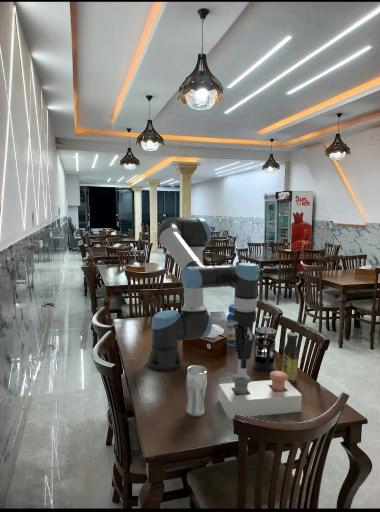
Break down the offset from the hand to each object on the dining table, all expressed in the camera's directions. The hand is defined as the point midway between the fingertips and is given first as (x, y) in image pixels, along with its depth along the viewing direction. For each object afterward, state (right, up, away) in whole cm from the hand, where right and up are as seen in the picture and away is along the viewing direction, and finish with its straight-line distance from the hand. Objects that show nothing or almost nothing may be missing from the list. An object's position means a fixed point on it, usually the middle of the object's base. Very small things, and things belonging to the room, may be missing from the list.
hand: (241, 375), depth 123 cm
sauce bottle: (+22, -10, +23) cm, 34 cm away
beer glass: (-16, -12, -2) cm, 20 cm away
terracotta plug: (+13, -7, +4) cm, 16 cm away
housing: (+6, -12, +3) cm, 14 cm away
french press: (+15, -8, +35) cm, 39 cm away
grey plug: (0, -7, +1) cm, 7 cm away
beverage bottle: (+5, -4, +62) cm, 62 cm away
